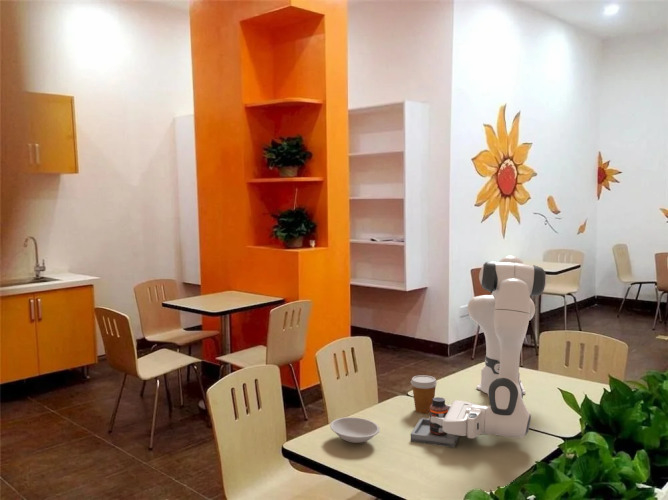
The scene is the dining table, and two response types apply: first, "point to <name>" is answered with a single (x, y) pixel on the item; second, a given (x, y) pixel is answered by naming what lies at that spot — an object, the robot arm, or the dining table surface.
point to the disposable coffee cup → (423, 392)
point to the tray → (431, 435)
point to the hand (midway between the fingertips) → (434, 413)
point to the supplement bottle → (438, 415)
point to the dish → (354, 429)
